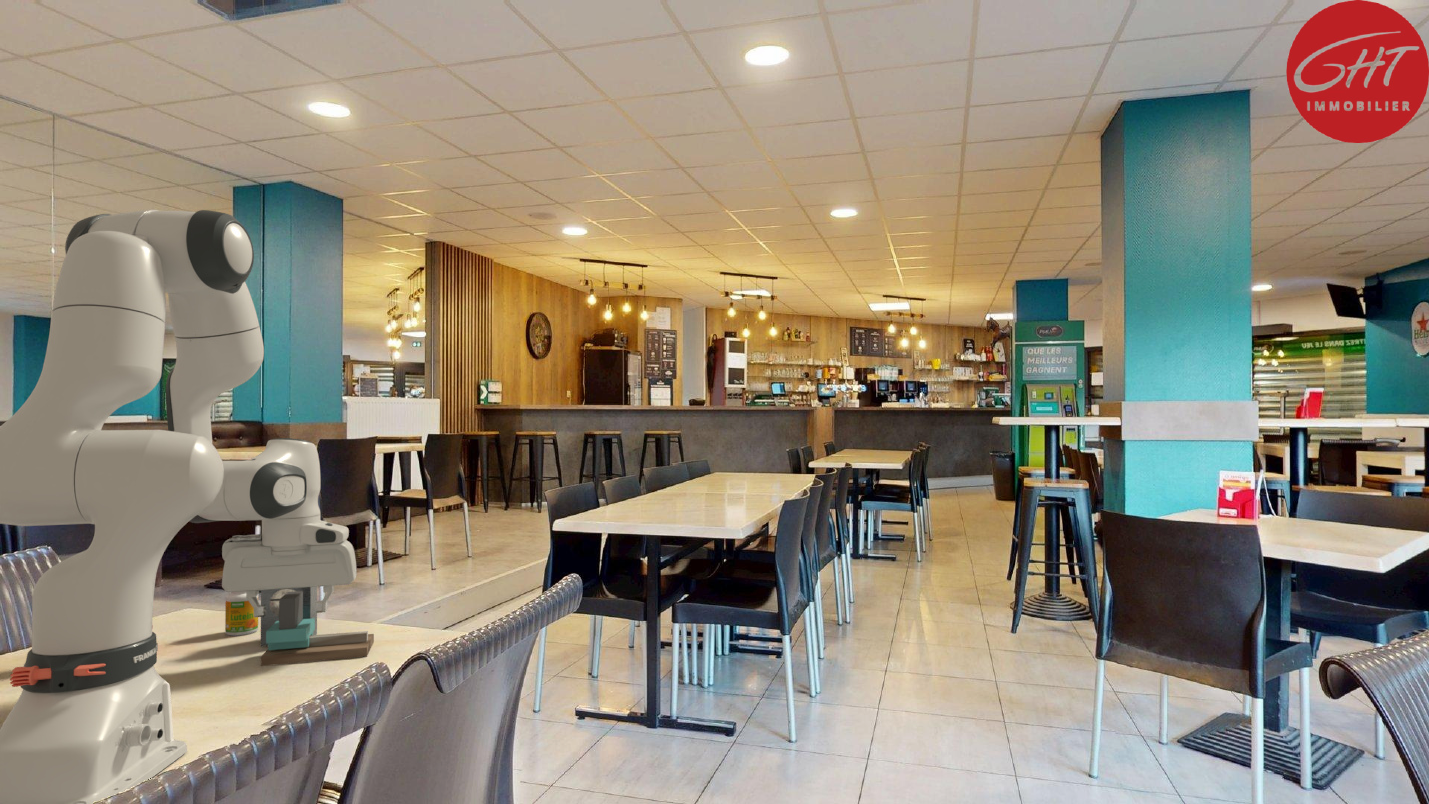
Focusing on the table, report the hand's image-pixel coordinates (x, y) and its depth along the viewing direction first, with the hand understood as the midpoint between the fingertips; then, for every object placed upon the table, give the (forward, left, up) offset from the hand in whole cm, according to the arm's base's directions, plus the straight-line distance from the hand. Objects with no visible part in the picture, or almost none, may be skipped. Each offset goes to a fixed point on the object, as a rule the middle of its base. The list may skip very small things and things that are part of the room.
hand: (291, 614), depth 133 cm
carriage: (0, 0, -5) cm, 5 cm away
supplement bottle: (+20, +12, -7) cm, 25 cm away
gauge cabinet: (+11, +2, -7) cm, 13 cm away
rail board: (0, -5, -7) cm, 8 cm away
